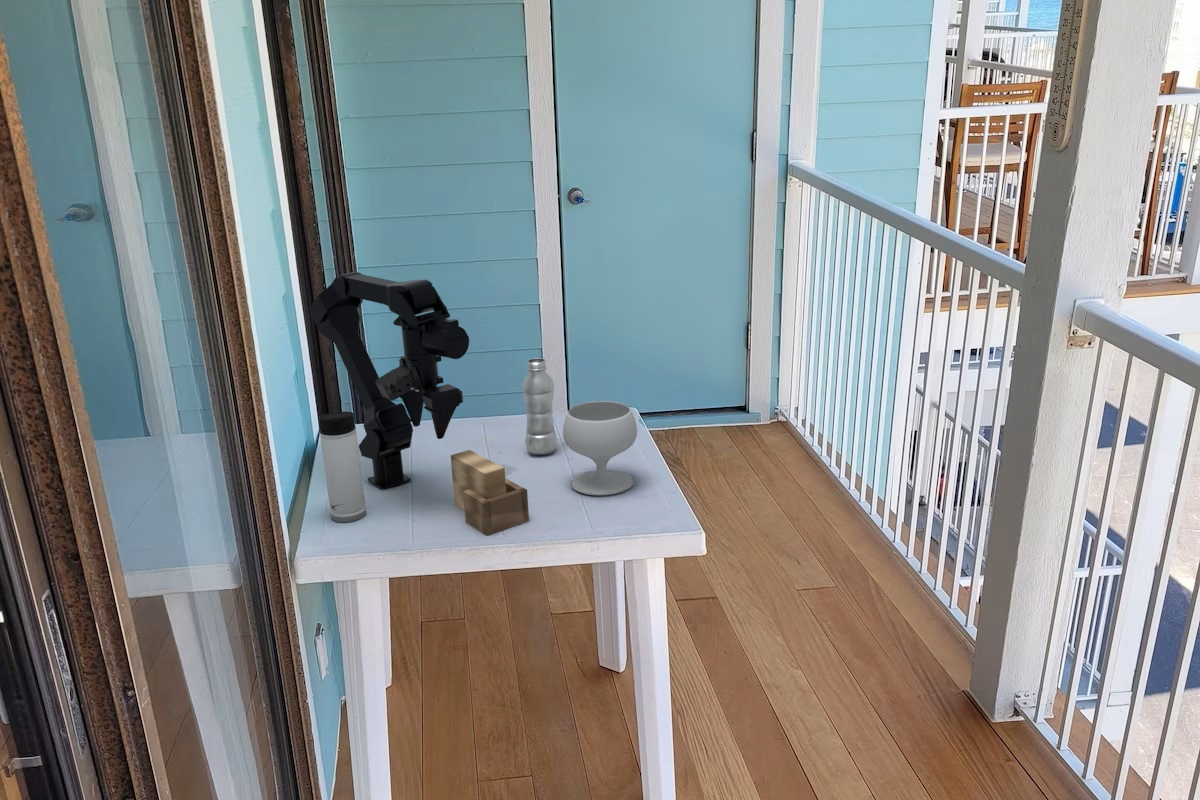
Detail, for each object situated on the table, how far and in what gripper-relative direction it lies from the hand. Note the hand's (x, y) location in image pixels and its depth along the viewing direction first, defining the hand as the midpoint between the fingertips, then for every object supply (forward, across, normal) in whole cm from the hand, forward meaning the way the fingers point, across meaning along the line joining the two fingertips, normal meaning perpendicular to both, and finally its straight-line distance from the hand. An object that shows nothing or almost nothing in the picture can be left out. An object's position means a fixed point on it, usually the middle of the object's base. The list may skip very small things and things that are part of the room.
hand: (428, 432), depth 185 cm
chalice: (+13, +17, +27) cm, 35 cm away
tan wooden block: (+13, +12, +3) cm, 18 cm away
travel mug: (+13, -3, -16) cm, 21 cm away
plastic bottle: (+13, -5, +28) cm, 31 cm away
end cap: (+13, +18, +3) cm, 22 cm away
